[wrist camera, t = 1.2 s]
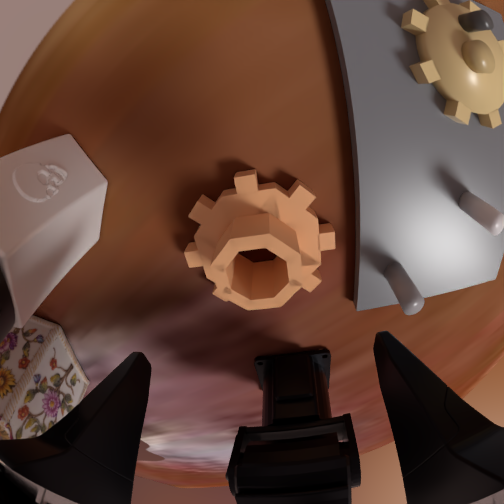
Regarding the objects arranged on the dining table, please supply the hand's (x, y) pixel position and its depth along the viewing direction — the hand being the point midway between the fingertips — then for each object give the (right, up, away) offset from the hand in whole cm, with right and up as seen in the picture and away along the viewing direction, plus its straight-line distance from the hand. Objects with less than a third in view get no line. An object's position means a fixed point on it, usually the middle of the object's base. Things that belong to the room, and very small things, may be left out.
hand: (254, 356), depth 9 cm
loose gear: (0, +4, +7) cm, 9 cm away
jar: (-13, +8, +6) cm, 17 cm away
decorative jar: (-26, -8, +16) cm, 32 cm away
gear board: (+12, +10, +3) cm, 16 cm away
